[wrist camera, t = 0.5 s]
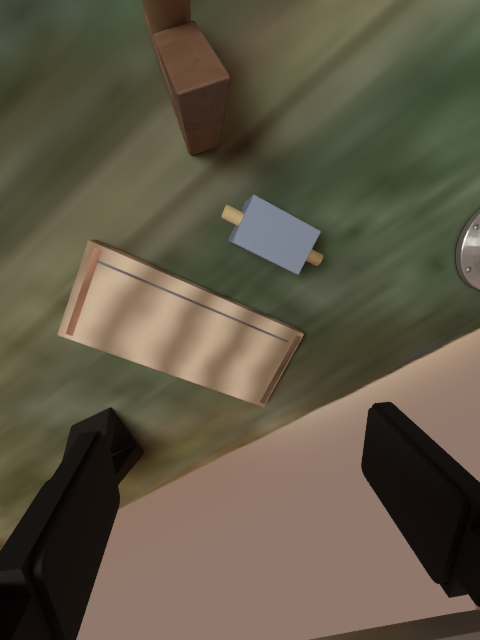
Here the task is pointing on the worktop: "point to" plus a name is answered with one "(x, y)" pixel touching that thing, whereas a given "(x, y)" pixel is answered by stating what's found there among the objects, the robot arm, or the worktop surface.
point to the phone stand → (110, 440)
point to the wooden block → (189, 72)
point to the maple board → (175, 325)
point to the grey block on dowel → (273, 234)
